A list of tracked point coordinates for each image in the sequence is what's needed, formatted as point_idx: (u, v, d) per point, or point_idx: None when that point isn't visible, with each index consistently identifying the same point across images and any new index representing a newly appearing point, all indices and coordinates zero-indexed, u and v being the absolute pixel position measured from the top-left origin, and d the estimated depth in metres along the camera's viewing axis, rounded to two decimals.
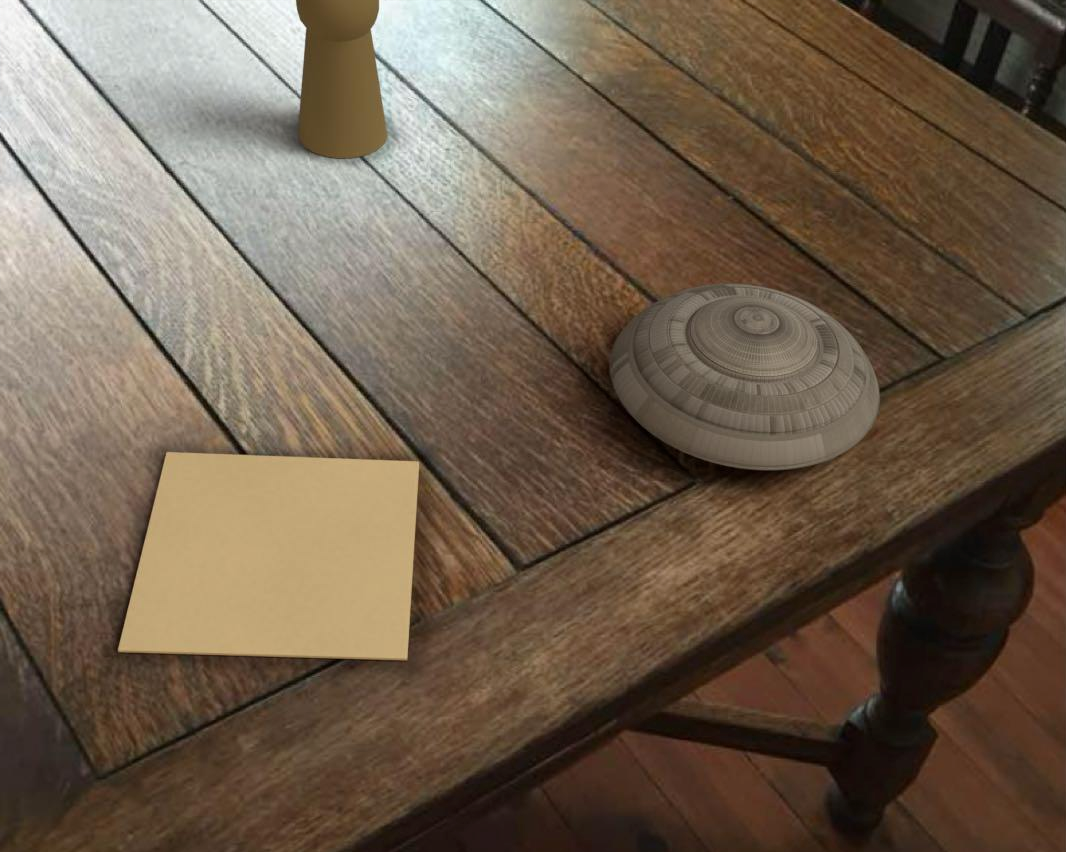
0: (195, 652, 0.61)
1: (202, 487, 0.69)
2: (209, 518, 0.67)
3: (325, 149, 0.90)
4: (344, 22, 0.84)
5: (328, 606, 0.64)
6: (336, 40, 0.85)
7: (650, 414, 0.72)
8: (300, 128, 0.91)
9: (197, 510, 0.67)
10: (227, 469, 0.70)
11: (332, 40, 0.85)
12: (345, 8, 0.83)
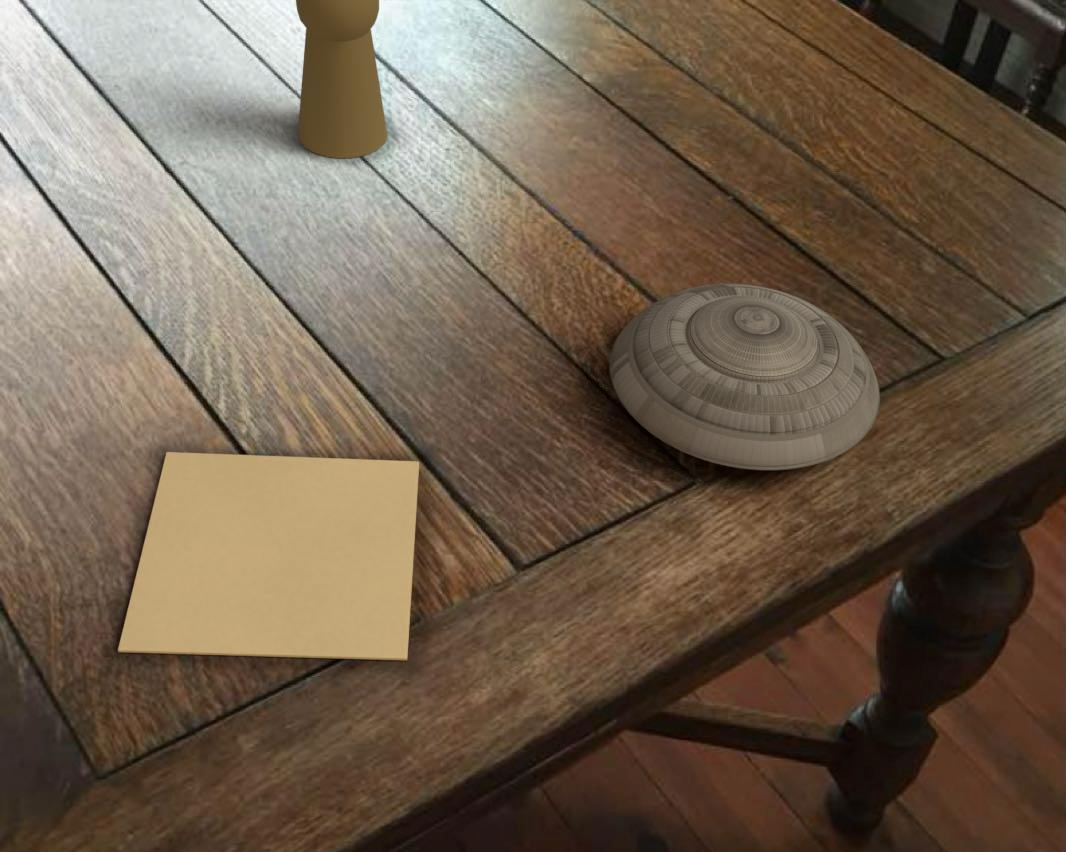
0: (195, 652, 0.61)
1: (202, 487, 0.69)
2: (209, 518, 0.67)
3: (325, 149, 0.90)
4: (344, 22, 0.84)
5: (328, 606, 0.64)
6: (336, 40, 0.85)
7: (650, 414, 0.72)
8: (300, 128, 0.91)
9: (197, 510, 0.67)
10: (227, 469, 0.70)
11: (332, 40, 0.85)
12: (345, 9, 0.83)
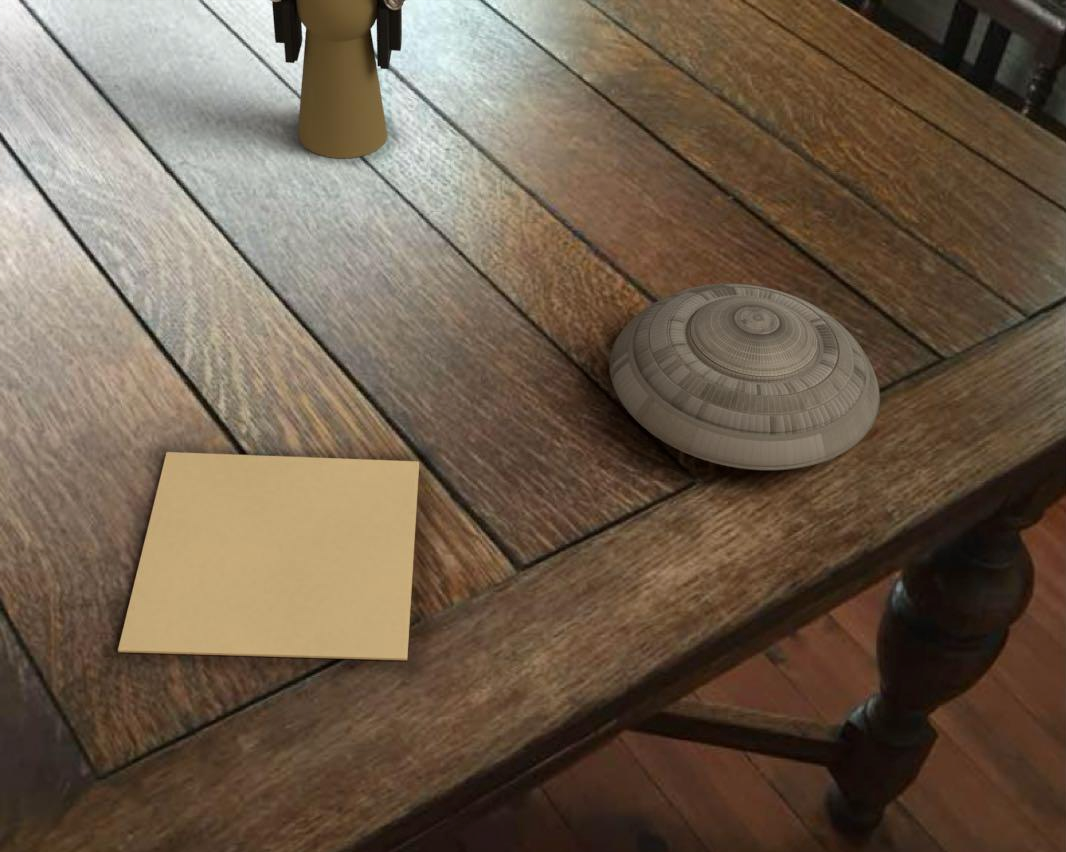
0: (195, 652, 0.61)
1: (202, 487, 0.69)
2: (209, 518, 0.67)
3: (325, 149, 0.90)
4: (344, 22, 0.84)
5: (328, 606, 0.64)
6: (336, 40, 0.85)
7: (650, 414, 0.72)
8: (300, 128, 0.91)
9: (197, 510, 0.67)
10: (227, 469, 0.70)
11: (332, 40, 0.85)
12: (345, 9, 0.83)
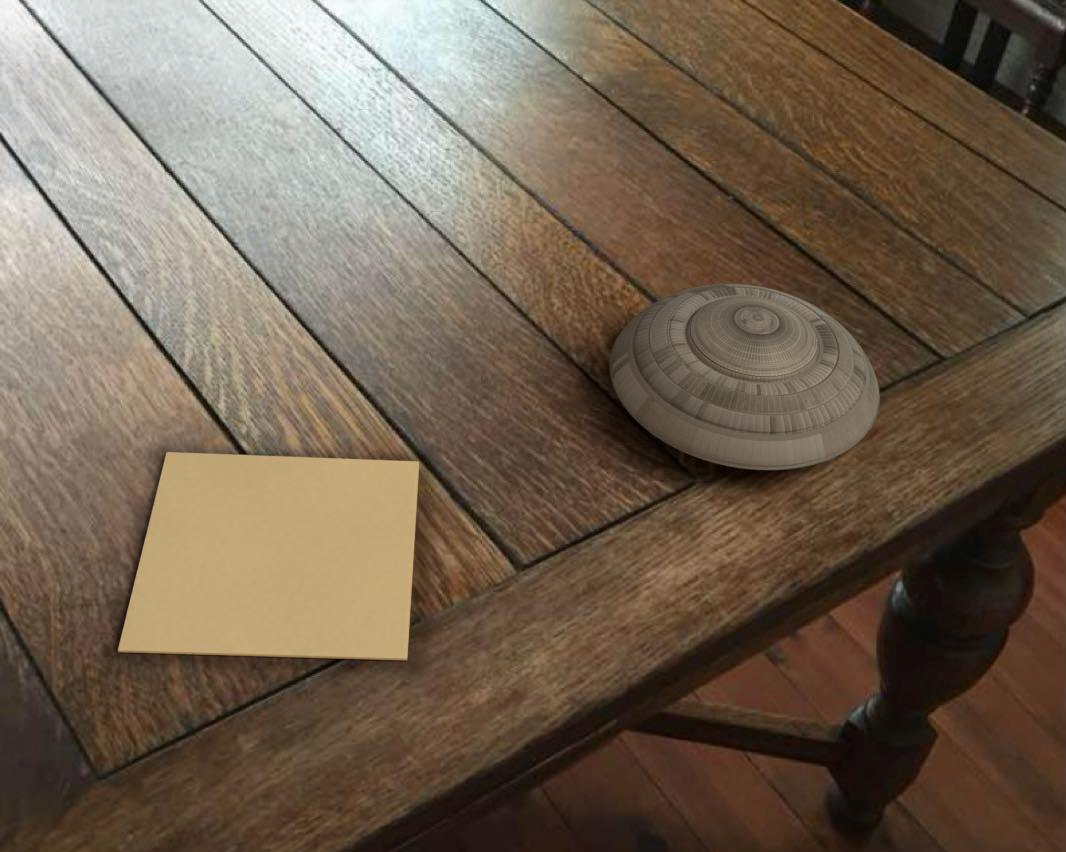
0: (195, 652, 0.61)
1: (202, 487, 0.69)
2: (209, 518, 0.67)
3: None
4: None
5: (328, 606, 0.64)
6: None
7: (650, 414, 0.72)
8: None
9: (197, 510, 0.67)
10: (227, 469, 0.70)
11: None
12: None
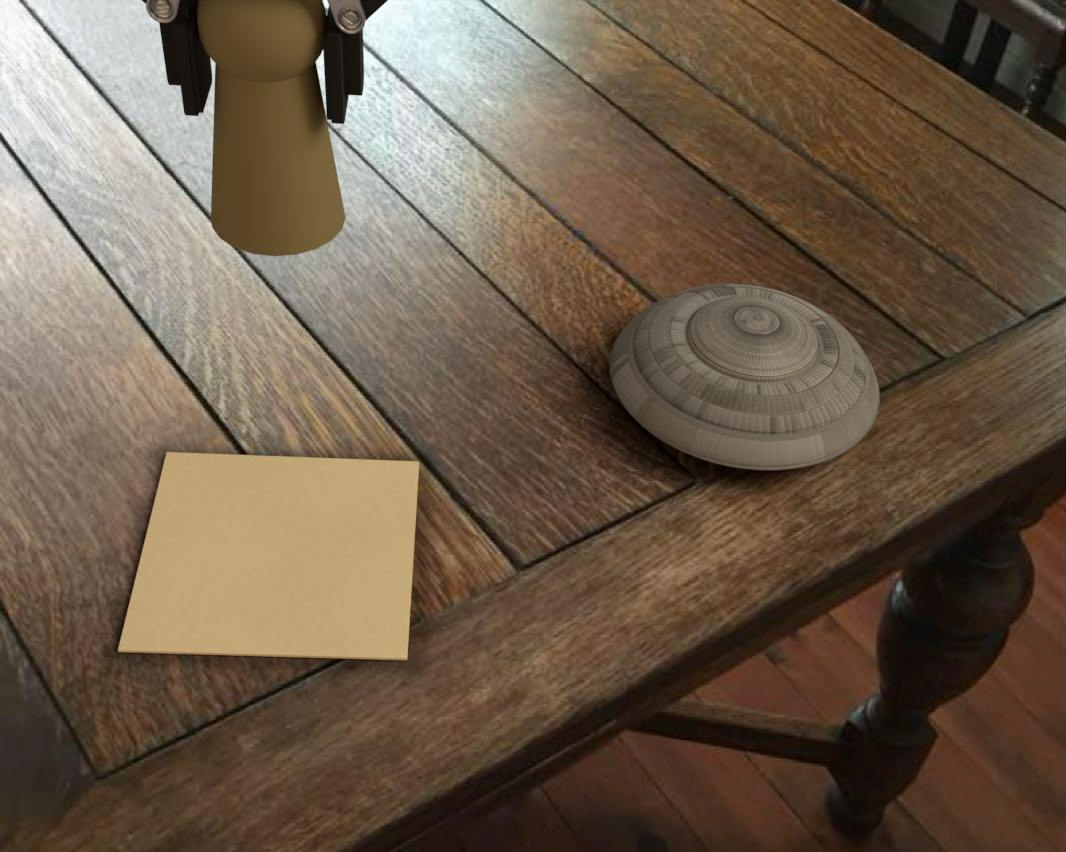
0: (195, 652, 0.61)
1: (202, 487, 0.69)
2: (209, 518, 0.67)
3: (251, 243, 0.59)
4: (273, 54, 0.53)
5: (328, 606, 0.64)
6: (261, 81, 0.55)
7: (650, 414, 0.72)
8: (213, 210, 0.60)
9: (197, 510, 0.67)
10: (227, 469, 0.70)
11: (256, 80, 0.55)
12: (273, 32, 0.53)
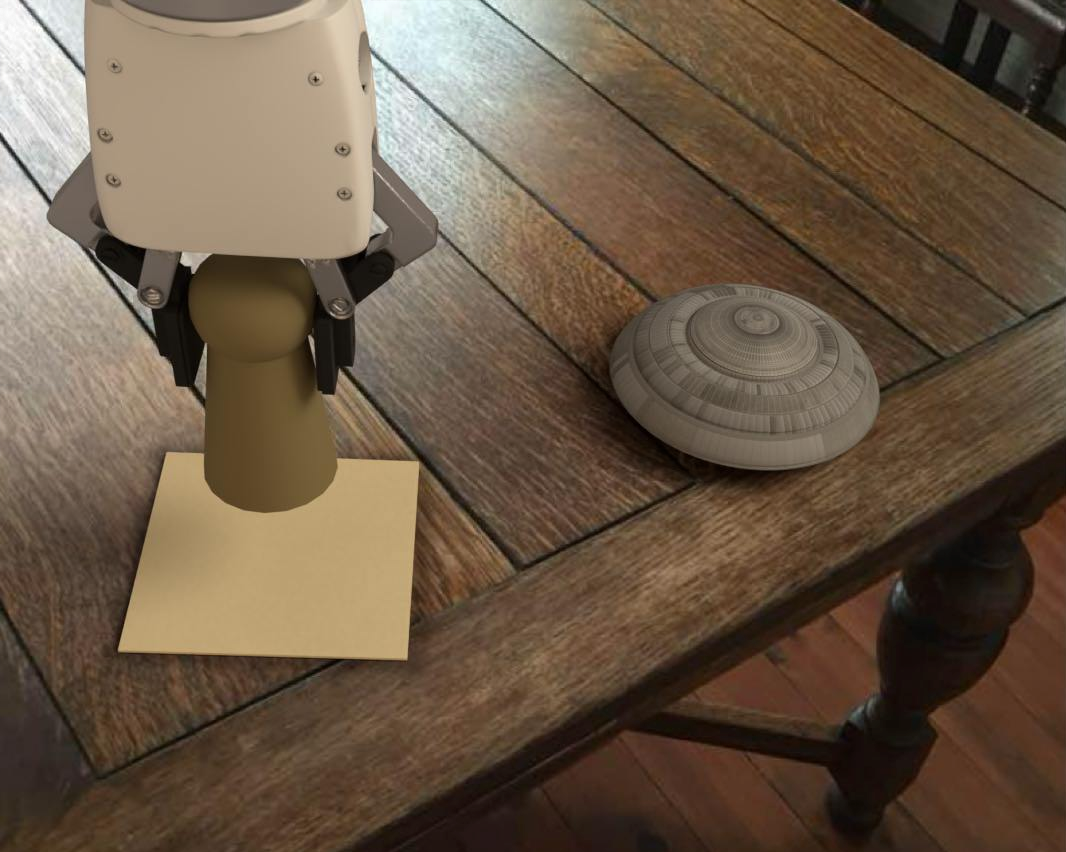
0: (195, 652, 0.61)
1: (202, 487, 0.69)
2: (209, 518, 0.67)
3: (242, 501, 0.60)
4: (262, 341, 0.54)
5: (328, 606, 0.64)
6: (251, 362, 0.55)
7: (650, 414, 0.72)
8: (205, 464, 0.60)
9: (197, 510, 0.67)
10: None
11: (246, 361, 0.55)
12: (262, 323, 0.53)
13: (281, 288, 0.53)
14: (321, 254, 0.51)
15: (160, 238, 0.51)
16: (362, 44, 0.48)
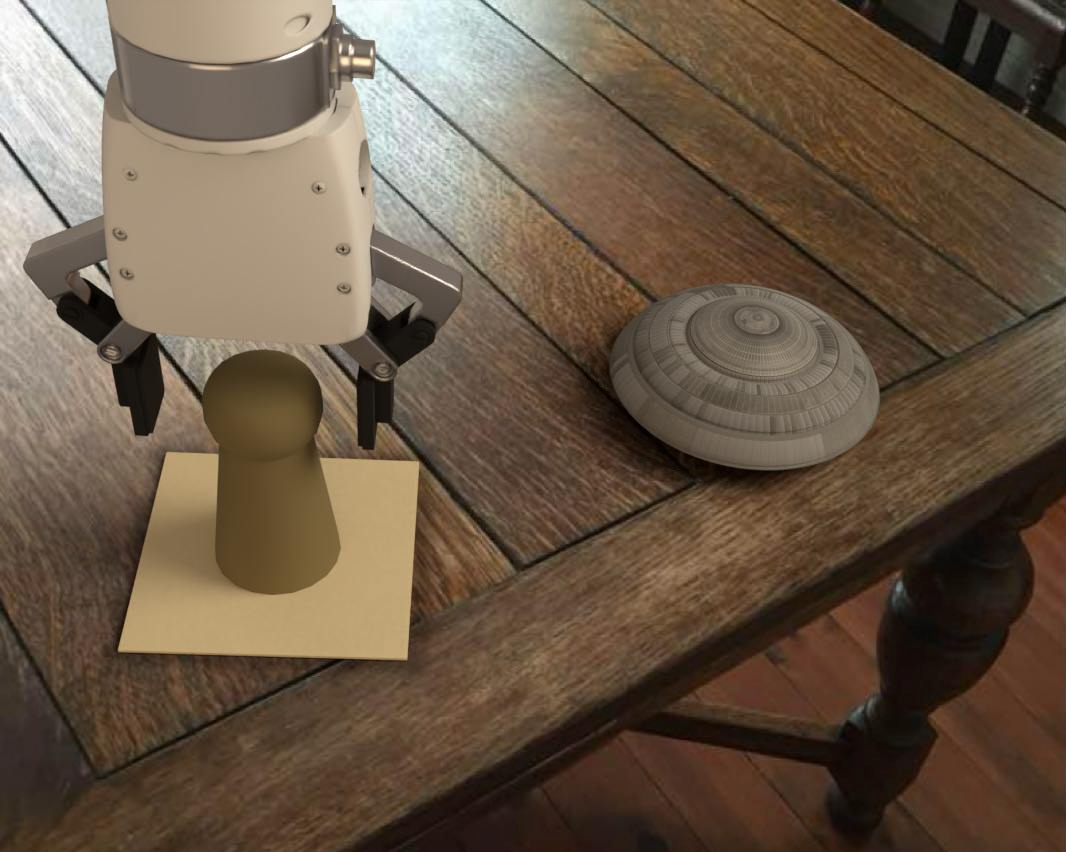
0: (195, 652, 0.61)
1: (202, 487, 0.69)
2: (209, 518, 0.67)
3: (251, 584, 0.64)
4: (271, 444, 0.58)
5: (328, 606, 0.64)
6: (260, 461, 0.59)
7: (650, 414, 0.72)
8: (217, 549, 0.65)
9: (197, 510, 0.67)
10: None
11: (255, 460, 0.59)
12: (271, 428, 0.57)
13: (289, 395, 0.58)
14: (321, 341, 0.54)
15: (170, 325, 0.54)
16: (362, 149, 0.51)
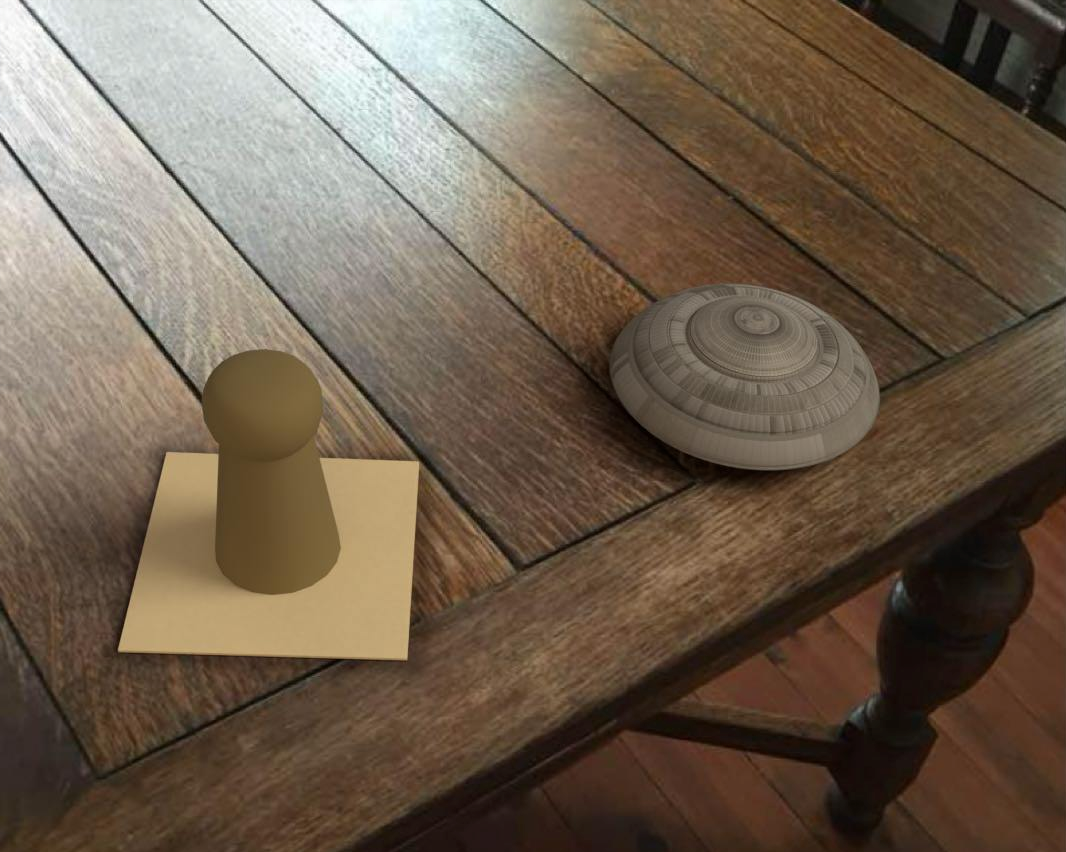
0: (195, 652, 0.61)
1: (202, 487, 0.69)
2: (209, 518, 0.67)
3: (251, 583, 0.64)
4: (271, 444, 0.58)
5: (328, 606, 0.64)
6: (260, 461, 0.59)
7: (650, 414, 0.72)
8: (217, 549, 0.65)
9: (197, 510, 0.67)
10: None
11: (255, 460, 0.59)
12: (271, 428, 0.57)
13: (289, 395, 0.58)
14: None
15: None
16: None
